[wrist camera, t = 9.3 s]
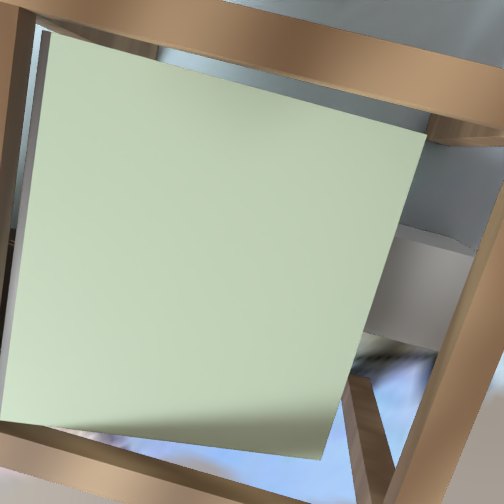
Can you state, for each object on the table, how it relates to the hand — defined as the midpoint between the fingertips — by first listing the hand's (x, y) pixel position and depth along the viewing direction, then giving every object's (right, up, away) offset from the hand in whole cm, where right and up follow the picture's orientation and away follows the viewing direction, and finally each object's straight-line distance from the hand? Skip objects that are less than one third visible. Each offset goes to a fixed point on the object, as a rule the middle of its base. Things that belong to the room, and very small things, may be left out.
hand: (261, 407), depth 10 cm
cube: (+8, +1, +13) cm, 15 cm away
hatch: (-2, +3, +8) cm, 9 cm away
